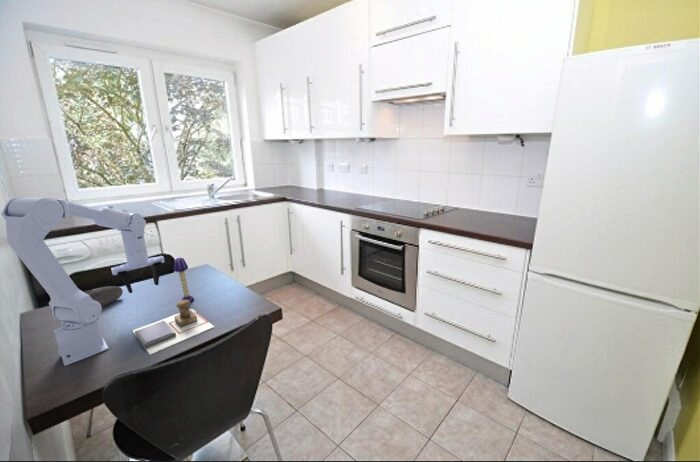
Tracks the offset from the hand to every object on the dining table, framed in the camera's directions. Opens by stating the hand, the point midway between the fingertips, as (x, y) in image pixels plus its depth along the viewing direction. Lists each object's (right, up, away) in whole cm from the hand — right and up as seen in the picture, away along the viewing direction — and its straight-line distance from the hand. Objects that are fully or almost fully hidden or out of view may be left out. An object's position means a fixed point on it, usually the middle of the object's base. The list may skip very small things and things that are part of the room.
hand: (143, 288), depth 106 cm
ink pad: (+11, -13, -11) cm, 20 cm away
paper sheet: (+14, -12, -7) cm, 20 cm away
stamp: (+16, -10, -3) cm, 19 cm away
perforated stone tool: (-21, -8, +8) cm, 24 cm away
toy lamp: (+9, -7, +10) cm, 15 cm away
